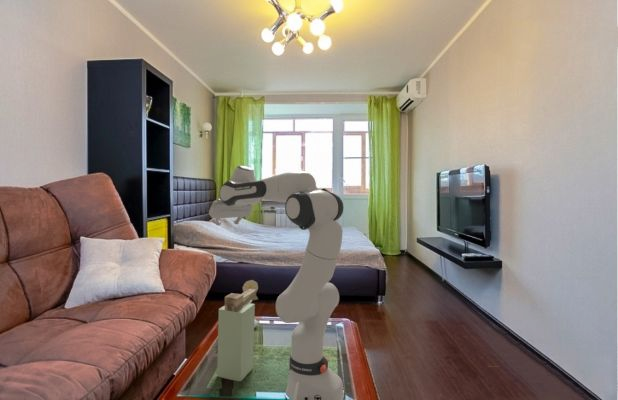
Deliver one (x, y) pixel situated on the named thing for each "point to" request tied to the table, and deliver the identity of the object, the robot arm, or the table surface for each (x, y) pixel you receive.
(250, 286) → the flower in vase
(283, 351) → the table surface
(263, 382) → the table surface
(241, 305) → the block
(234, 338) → the pedestal
